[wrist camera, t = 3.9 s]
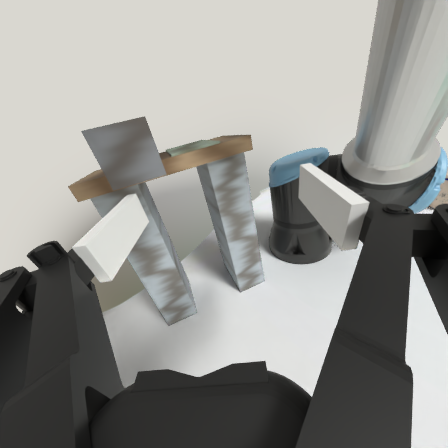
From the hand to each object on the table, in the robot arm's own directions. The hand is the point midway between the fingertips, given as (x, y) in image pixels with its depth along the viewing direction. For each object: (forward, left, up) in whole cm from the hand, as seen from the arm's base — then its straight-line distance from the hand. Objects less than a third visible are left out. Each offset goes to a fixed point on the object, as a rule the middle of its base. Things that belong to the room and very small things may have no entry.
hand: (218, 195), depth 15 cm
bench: (+2, -18, -28) cm, 33 cm away
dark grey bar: (+5, -16, +2) cm, 17 cm away
